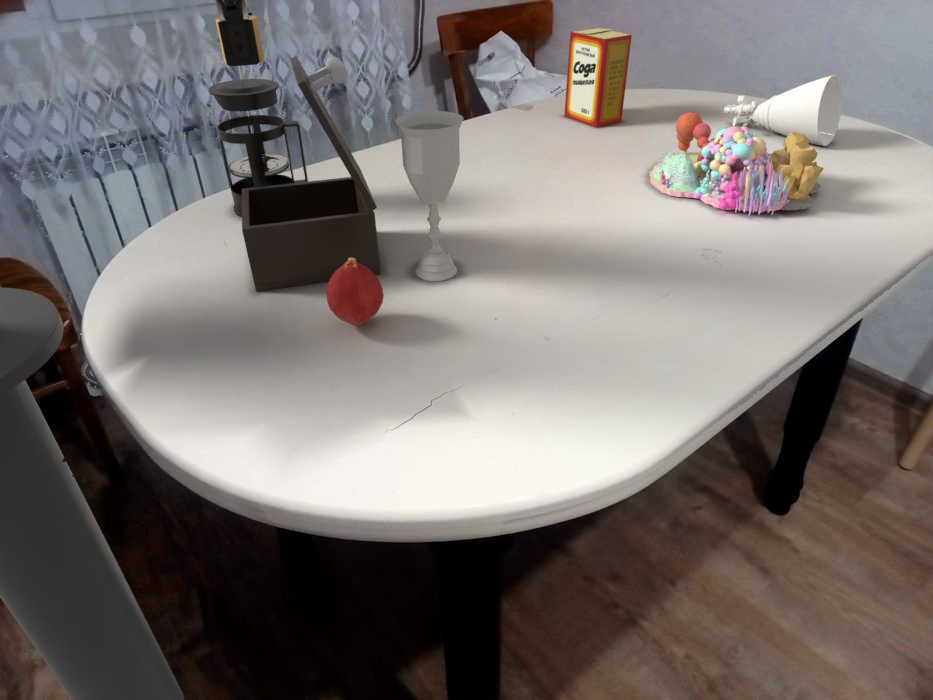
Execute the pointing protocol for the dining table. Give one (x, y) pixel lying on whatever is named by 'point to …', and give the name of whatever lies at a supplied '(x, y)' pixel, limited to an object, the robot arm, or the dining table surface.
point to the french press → (253, 135)
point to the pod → (257, 36)
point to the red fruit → (354, 293)
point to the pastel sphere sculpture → (738, 169)
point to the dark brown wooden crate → (306, 231)
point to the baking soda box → (597, 76)
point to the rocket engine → (797, 111)
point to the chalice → (431, 176)
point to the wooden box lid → (309, 91)
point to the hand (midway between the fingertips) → (243, 58)
